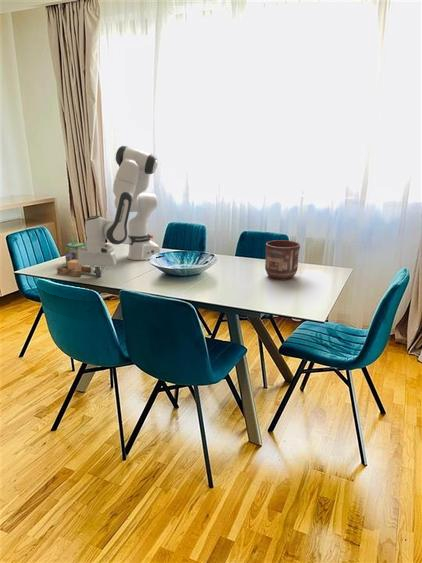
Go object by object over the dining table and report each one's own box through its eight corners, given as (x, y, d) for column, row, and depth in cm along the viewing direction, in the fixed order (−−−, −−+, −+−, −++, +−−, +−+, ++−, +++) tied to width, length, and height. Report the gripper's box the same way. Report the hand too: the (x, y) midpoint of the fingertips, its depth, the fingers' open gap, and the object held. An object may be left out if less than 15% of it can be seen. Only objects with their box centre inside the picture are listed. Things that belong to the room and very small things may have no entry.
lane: (57, 273, 224) (56, 268, 223) (69, 268, 232) (69, 263, 231) (79, 277, 218) (79, 271, 217) (91, 272, 226) (91, 267, 225)
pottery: (297, 283, 210) (300, 248, 205) (262, 280, 214) (264, 246, 208) (297, 273, 227) (300, 240, 221) (265, 271, 230) (267, 239, 225)
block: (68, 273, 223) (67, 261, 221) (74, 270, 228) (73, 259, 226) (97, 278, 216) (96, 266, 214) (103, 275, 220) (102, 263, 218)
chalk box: (79, 266, 237) (76, 241, 232) (65, 265, 240) (62, 239, 235) (88, 262, 245) (86, 237, 241) (75, 260, 248) (72, 236, 243)
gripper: (74, 248, 213) (76, 274, 217) (111, 250, 209) (113, 276, 213) (80, 245, 218) (82, 270, 223) (116, 247, 215) (118, 272, 219)
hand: (98, 273), depth 218 cm, fingers closed on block, 3 cm apart
